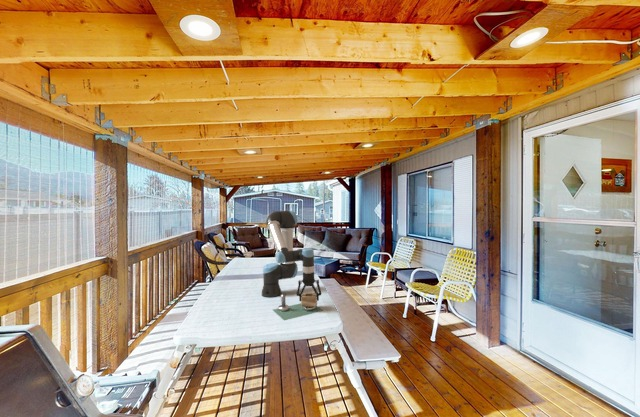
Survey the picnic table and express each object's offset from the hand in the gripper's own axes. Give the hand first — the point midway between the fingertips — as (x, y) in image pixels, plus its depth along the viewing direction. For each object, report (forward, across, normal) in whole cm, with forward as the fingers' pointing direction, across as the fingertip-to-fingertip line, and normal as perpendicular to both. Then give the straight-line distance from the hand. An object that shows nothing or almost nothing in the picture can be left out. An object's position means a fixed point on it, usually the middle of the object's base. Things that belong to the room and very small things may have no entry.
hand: (309, 305), depth 192 cm
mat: (+2, -8, -2) cm, 8 cm away
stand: (+2, -17, -1) cm, 17 cm away
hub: (+2, 0, 0) cm, 2 cm away
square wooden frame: (-1, 0, 0) cm, 1 cm away
